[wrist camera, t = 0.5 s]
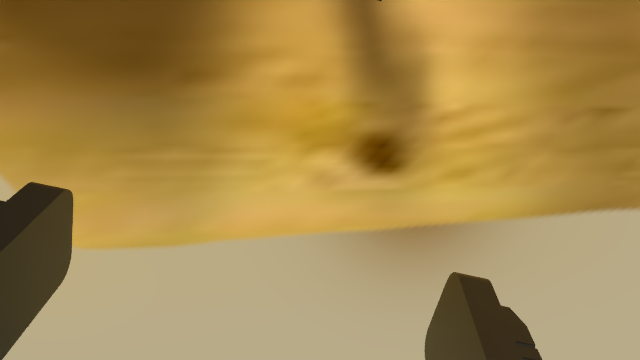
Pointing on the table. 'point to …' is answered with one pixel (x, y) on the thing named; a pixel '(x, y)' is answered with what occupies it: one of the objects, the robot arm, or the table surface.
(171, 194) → the table surface
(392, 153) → the table surface
